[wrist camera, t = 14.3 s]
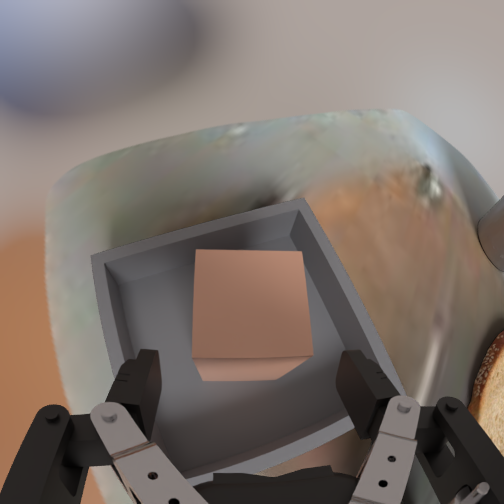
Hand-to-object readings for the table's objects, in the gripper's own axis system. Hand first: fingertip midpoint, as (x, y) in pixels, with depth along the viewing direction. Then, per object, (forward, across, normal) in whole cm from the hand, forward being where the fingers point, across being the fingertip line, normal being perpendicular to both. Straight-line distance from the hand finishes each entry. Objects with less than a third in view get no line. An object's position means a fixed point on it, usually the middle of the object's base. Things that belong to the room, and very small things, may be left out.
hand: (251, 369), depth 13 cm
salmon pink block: (+10, 0, +5) cm, 11 cm away
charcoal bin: (+10, 0, +6) cm, 12 cm away
